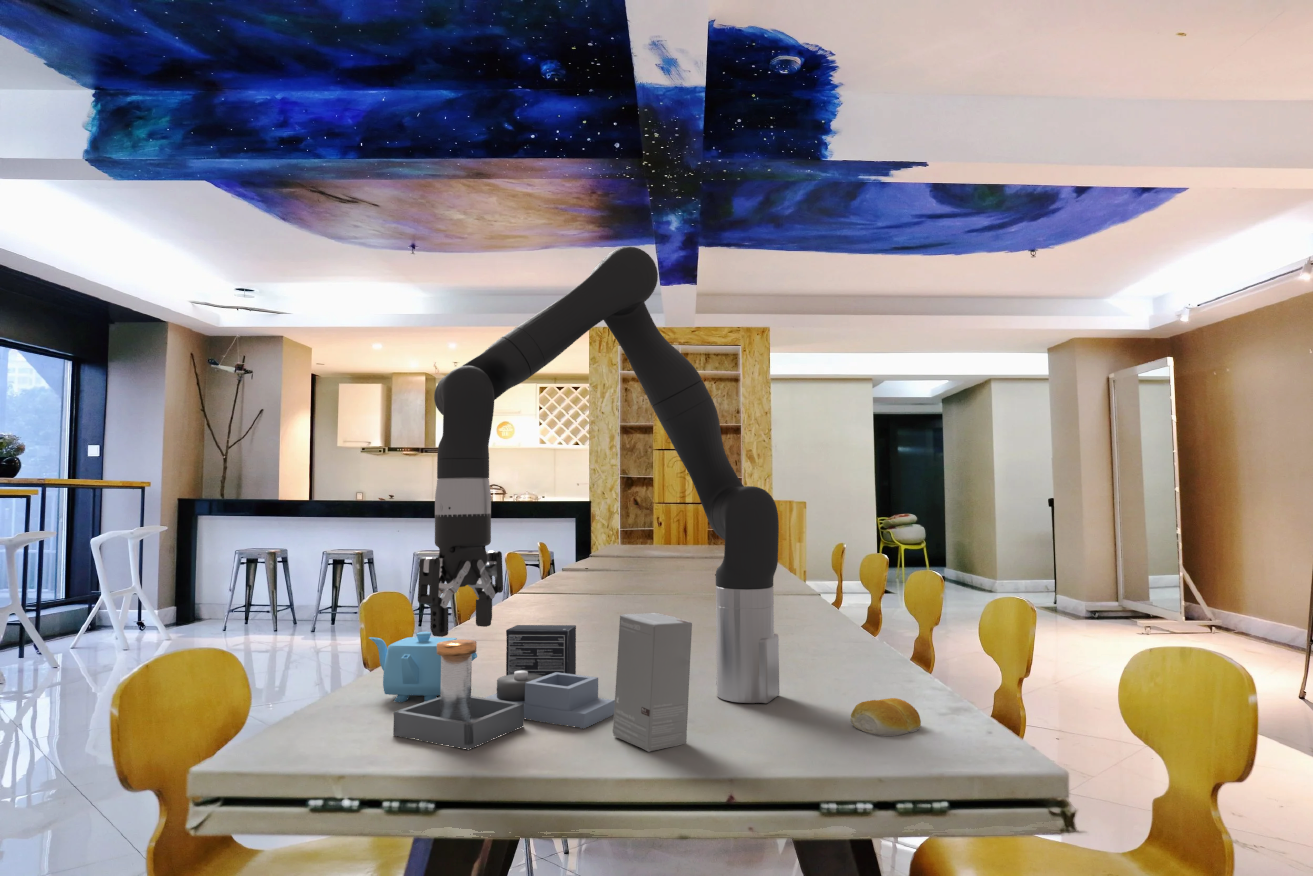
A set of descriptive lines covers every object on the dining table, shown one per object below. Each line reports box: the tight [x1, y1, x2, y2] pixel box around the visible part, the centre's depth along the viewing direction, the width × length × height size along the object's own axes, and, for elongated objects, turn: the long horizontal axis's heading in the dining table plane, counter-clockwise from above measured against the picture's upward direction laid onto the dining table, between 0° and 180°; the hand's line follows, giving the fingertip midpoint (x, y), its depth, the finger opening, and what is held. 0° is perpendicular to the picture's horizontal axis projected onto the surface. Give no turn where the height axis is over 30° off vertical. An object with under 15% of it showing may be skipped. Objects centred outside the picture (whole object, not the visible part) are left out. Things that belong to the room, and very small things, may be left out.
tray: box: [392, 695, 525, 749], centre depth 100 cm, size 13×11×3 cm
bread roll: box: [850, 697, 922, 737], centre depth 102 cm, size 8×9×4 cm
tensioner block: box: [483, 671, 615, 729], centre depth 109 cm, size 18×8×5 cm, turn 62°
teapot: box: [368, 631, 478, 703], centre depth 118 cm, size 18×14×10 cm
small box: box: [505, 624, 577, 676], centre depth 122 cm, size 11×6×10 cm, turn 84°
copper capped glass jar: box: [437, 639, 478, 722], centre depth 100 cm, size 5×5×11 cm
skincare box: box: [612, 612, 693, 753], centre depth 97 cm, size 8×7×16 cm
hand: (462, 630), depth 101 cm, fingers open, 8 cm apart
